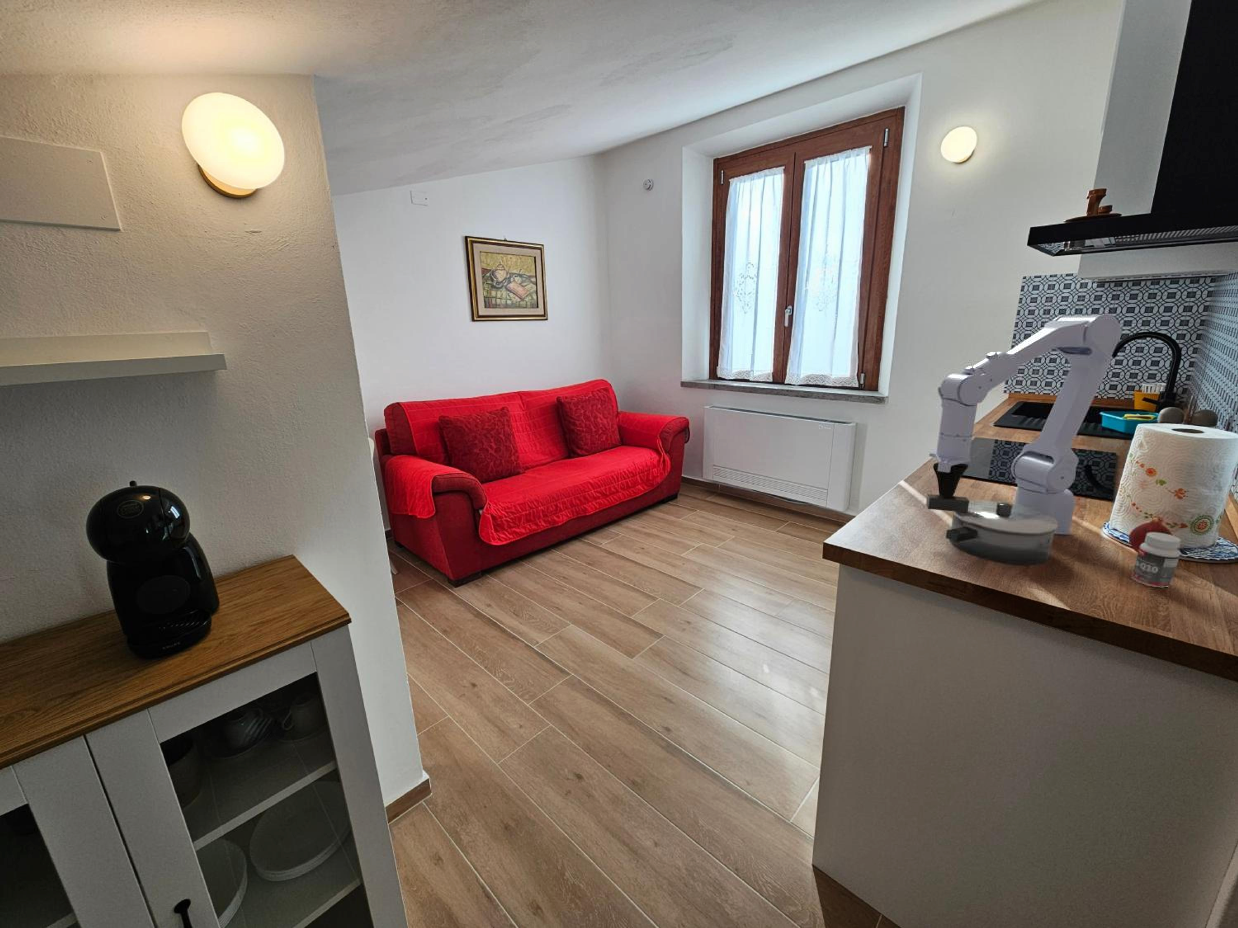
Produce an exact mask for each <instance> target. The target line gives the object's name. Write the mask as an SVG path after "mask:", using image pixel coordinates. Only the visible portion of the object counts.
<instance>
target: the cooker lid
mask: <svg viewBox="0 0 1238 928" xmlns="http://www.w3.org/2000/svg"><path fill="white" fill-rule="evenodd" d="M925 506H926V508H927V510H936V511H945V512H947V511H948V512H952V514H954V515H955V516H956V517H957V518H959V519H960V520H962V521H965V522H967V523H969V524H972V525H975V526H978V527H981V528H985V529H989V530H994V531H999V532H1005V533H1012V534H1022V535H1041V534H1048V533H1052V532H1054V531H1056V529H1057V526H1058V522H1057V520H1056V519H1055V518H1053V517H1052V516H1050V515H1048V514H1046V513H1044V512H1041V511H1038V510H1036V509H1032V508H1029V507H1025V506H1021V505H1016V504H1014V503H1011V502H1004V501H995V500H985V499H983V500H982V499H972V500H971V499H970V500H969V498H968V497H967V496H957V495H956V496H955V495H953V496H945V495H939V494H934V493H933V494H931V493H927V495H926V503H925Z"/></svg>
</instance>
